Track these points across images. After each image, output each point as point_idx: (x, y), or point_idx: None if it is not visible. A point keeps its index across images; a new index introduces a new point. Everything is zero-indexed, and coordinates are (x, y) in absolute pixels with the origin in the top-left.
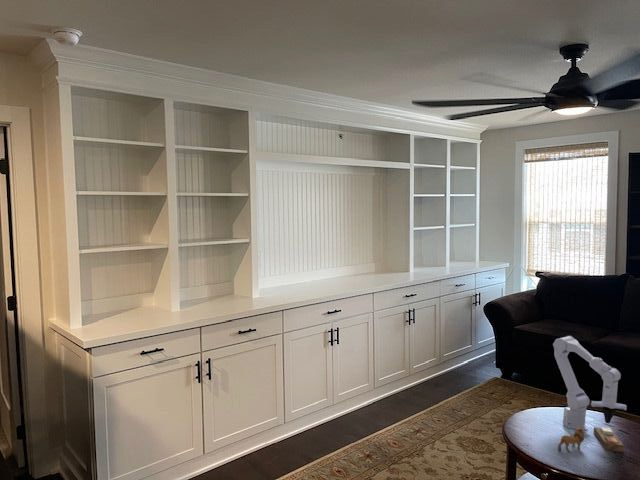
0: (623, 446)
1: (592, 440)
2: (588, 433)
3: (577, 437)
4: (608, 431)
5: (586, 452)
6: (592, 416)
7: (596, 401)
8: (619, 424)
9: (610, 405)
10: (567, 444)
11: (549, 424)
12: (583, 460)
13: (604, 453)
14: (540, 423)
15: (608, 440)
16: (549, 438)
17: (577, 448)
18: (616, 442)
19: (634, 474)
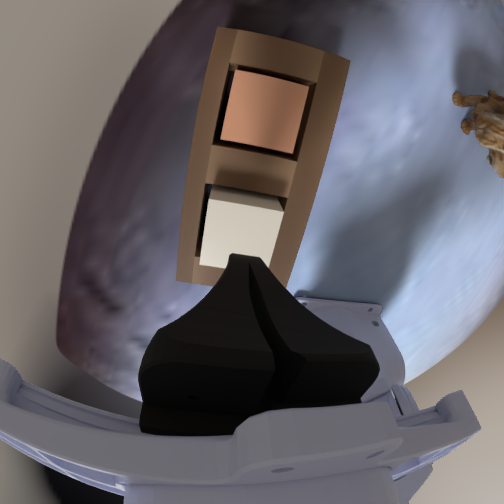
0: (221, 28)
1: (342, 183)
2: (310, 265)
3: None
4: (245, 204)
5: (440, 67)
6: None
7: (399, 476)
8: (104, 348)
9: (327, 492)
10: None
11: (419, 320)
12: (469, 24)
13: (359, 33)
14: (439, 320)
15: (303, 96)
16: (492, 208)
17: (465, 102)
18: (248, 73)
19: None
